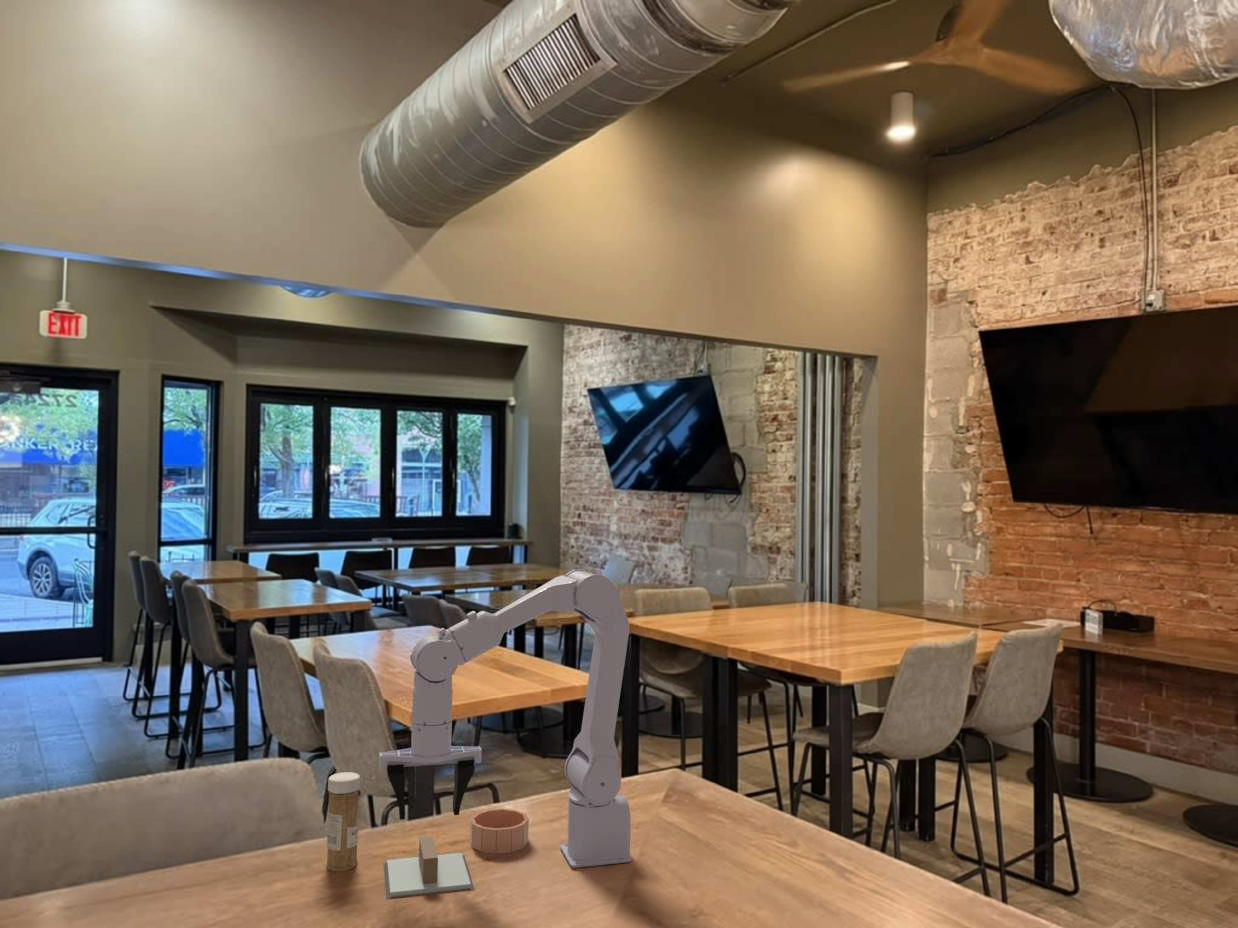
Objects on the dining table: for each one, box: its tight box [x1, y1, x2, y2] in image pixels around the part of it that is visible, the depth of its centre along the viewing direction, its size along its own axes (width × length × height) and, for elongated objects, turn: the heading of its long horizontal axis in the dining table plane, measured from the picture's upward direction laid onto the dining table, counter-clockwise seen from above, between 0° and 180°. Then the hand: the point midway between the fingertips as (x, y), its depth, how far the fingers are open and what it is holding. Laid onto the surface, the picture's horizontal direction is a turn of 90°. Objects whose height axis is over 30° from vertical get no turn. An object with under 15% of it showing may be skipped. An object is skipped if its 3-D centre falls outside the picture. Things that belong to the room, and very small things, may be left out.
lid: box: [386, 835, 471, 897], centre depth 128 cm, size 11×11×4 cm
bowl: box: [469, 808, 530, 855], centre depth 141 cm, size 9×9×4 cm
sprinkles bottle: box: [325, 771, 361, 872], centre depth 132 cm, size 5×5×14 cm
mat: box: [383, 854, 475, 900], centre depth 128 cm, size 12×12×1 cm
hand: (429, 814), depth 128 cm, fingers open, 7 cm apart
